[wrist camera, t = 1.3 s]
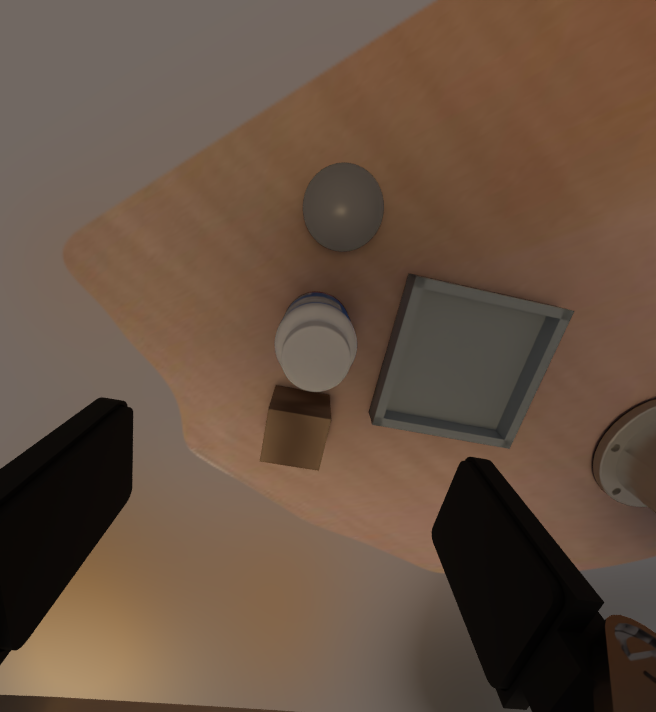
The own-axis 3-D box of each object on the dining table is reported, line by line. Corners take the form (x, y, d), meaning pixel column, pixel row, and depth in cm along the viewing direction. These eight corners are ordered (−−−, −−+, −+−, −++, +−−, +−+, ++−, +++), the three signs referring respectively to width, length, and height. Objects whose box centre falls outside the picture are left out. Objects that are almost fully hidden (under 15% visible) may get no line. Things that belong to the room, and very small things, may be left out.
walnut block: (329, 394, 30) (331, 419, 25) (318, 439, 31) (318, 470, 27) (275, 384, 29) (268, 408, 25) (267, 431, 31) (259, 461, 26)
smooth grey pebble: (378, 187, 24) (393, 173, 19) (362, 256, 25) (372, 259, 21) (313, 171, 23) (311, 153, 19) (300, 242, 25) (296, 242, 20)
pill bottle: (342, 357, 28) (352, 412, 19) (281, 347, 28) (262, 399, 19) (354, 295, 26) (372, 323, 17) (289, 284, 26) (273, 306, 17)
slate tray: (554, 305, 27) (574, 311, 25) (496, 435, 31) (509, 448, 29) (408, 273, 26) (416, 276, 24) (368, 412, 30) (372, 424, 28)
